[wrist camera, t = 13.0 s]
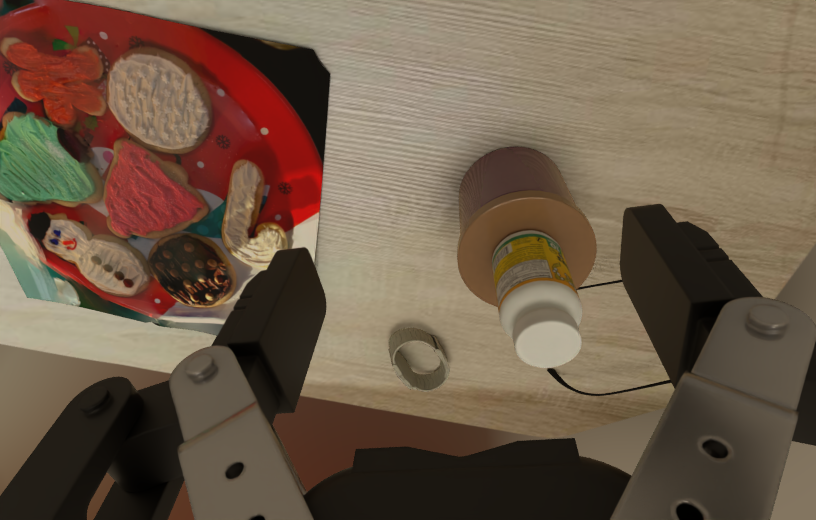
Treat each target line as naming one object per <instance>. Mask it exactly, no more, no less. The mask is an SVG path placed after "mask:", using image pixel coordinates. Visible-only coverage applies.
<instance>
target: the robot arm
mask: <svg viewBox="0 0 816 520" xmlns="http://www.w3.org/2000/svg"><path fill="white" fill-rule="evenodd" d="M620 271H621V277H622V281H623V284H624V287H625V289H626V291H627V293H628V295H629V297H630V299H631V301H632V303H633V305H634V307H635V309H636V311H637V313H638V315H639V317H640V319H641V321H642V323H643V325H644V327H645V329H646V331H647V333H648V335H649V337H650V340H651V342H652V344H653V346H654V348H655V350H656V352H657V354H658V356H659V358H660V360H661V362H662V364H663V366H664V368H665V370H666V372H667V374H668V376H669V378H670V380H671V382H672V384H673V386H674V388H675V390H674V392H673V394H672V396H671V398H670V400H669V402H668V404H667V406H666V408H665V410H664V412H663V414H662V416H661V419H660V421H659V423H658V425H657V427H656V429H655V431H654V432H653V435H652V436H651V438H650V440H649V442H648V444H647V446H646V449H645V450H644V452H643V455H642V457H641V458H640V460H639V462H638V464H637V466H636V468H635V470H634V472H633V474H632V476H631V475H629V474H628V473H626V472H624V471H622V470H620V469H618V468H616V467H613V466H611V465H609V464H606V463H604V462H601V461H598V460H594V459H591V458H586V457H581V456H579V453H578V449H577V445H576V441H575V438H567V439H548V440H529V441H516V442H513V443H509V444H506V445H502V446H499V447H496V448H493V449H489V450H485V451H482V452H479V453H475V454H472V455H468V456H464V457H457V456H451V455H447V454H442V453H437V452H431V451H426V450H421V449H416V448H411V447H389V448H369V449H356V451H355V457H354V462H353V467H350V468H347V469H345V470H342V471H340V472H338V473H336V474H333V475H332V476H330V477H328V478H326V479H324V480H323V481H321V482H320V483H319V484H317V485H316V486H314V487H313V488H312V489H311V490H309V491H308V492H307V491H306V489H305V487H304V485H303V484H302V482H301V480H300V478H299V476H298V474H297V472H296V470H295V468H294V466H293V464H292V462H291V460H290V458H289V456H288V454H287V452H286V450H285V448H284V446H283V444H282V442H281V440H280V438H279V436H278V434H277V432H276V430H275V428H274V426H273V425H272V424H273V421H274V418H275V415H276V414H279V413H293V412H295V408H296V405H297V402H298V399H299V396H300V393H301V390H302V387H303V383H304V380H305V377H306V374H307V371H308V368H309V365H310V361H311V358H312V355H313V352H314V349H315V346H316V343H317V340H318V336H319V333H320V330H321V327H322V324H323V321H324V318H325V314H326V298H325V293H324V290H323V287H322V285H321V282H320V279H319V276H318V273H317V271H316V268H315V265H314V262H313V260H312V257H311V254H310V252H309V250H308V249H307V248H305V247H301V248H293V249H285V250H278V251H277V252H276V253H275V254H274V256H273V258H272V260H271V262H270V264H269V266H268V268H267V269H266V270H262V271H260V272H259V273H258V274H257V275H256V276H255V277H253V278H252V279H251V280H250V281H249V282H248V283H247V284H246V286H245V288H244V289H243V291H242V293H241V295H240V299H238V300H237V302H236V304H235V305H234V307H233V310H232V311H231V312H230V314H229V316H228V318H227V319H226V321H225V323H224V325H223V326H222V328H221V330H220V332H219V333H218V335H217V337H216V339H215V340H214V342H213V344H212V346H210V347H206V348H203V349H200V350H198V351H196V352H194V353H192V354H191V355H189V356H188V357H186V358H185V359H184V360H182V361H181V362H180V363H179V364H178V365H177V366H176V368H175V369H174V370H173V372H172V374H171V376H170V378H169V380H168V381H166V382H162V383H159V384H156V385H153V386H150V387H147V388H144V389H141V390H138V391H137V390H136V389H135V388H134V386H133V385H132V384H131V382H130V381H129V380H128V379H127V378H124V377H112V378H107V379H104V380H102V381H99V382H97V383H95V384H93V385H91V386H89V387H88V388H86V389H85V390H83V391H82V392H81V393H79V394H78V395H77V396H76V397H75V398H74V399H73V400H72V401H71V402H70V403H69V404H68V405H67V407H66V408H65V409H64V411H63V412H62V413H61V415H60V416H59V417H58V419H57V420H56V421H55V423H54V424H53V425H52V427H51V428H50V429H49V431H48V432H47V433H46V435H45V436H44V438H43V439H42V440H41V442H40V443H39V444H38V446H37V447H36V448H35V450H34V451H33V453H32V454H31V455H30V456H29V458H28V459H27V461H26V462H25V463H24V465H23V466H22V467H21V469H20V470H19V471H18V473H17V474H16V475H15V477H14V478H13V480H12V481H11V482H10V484H9V485H8V486H7V488H6V489H5V490H4V492H3V493H2V494H1V496H0V520H87V509H88V505H89V503H90V501H91V499H92V497H93V495H94V494H95V492H96V490H97V488H98V487H99V485H100V483H101V481H102V480H103V478H104V476H105V474H106V473H109V475H110V476H111V477H112V478H113V479H114V480H115V482H114V484H113V485H112V487H111V489H110V491H109V493H108V495H107V496H106V498H105V500H104V502H103V504H102V505H101V507H100V509H99V511H98V513H97V515H96V516H95V518H94V520H168V517H169V515H170V512H171V510H172V508H173V506H174V503H175V501H176V498H177V496H178V494H179V491H180V489H181V487H182V484H183V482H184V480H185V484H186V488H187V492H188V495H189V500H190V503H191V507H192V511H193V515H194V519H195V520H770V518H771V514H772V511H773V507H774V504H775V500H776V496H777V493H778V489H779V485H780V482H781V478H782V474H783V471H784V467H785V463H786V459H787V456H788V452H789V448H790V445H791V441H795V442H800V443H805V444H810V445H815V446H816V325H815V323H814V322H813V320H812V319H811V318H810V317H809V316H808V315H807V314H805V313H804V312H803V311H801V310H800V309H798V308H796V307H794V306H792V305H789V304H787V303H785V302H782V301H779V300H775V299H770V298H764V297H763V296H762V295H761V294H760V293H759V292H758V291H757V289H756V288H755V287H754V286H753V285H752V284H751V282H750V281H749V280H748V279H747V278H746V277H745V275H744V274H743V273H742V272H741V271H740V270H739V268H738V267H737V266H736V265H735V264H734V263H733V261H732V260H729V257H728V256H727V254H726V253H725V252H724V251H723V250H722V249H721V248H720V249H719V245H718V244H717V243H716V242H715V240H714V239H713V238H712V237H711V236H710V235H709V233H708V232H706V231H704V230H702V229H701V228H699V227H697V226H695V225H693V224H691V223H689V222H688V221H687V222H679V223H676V221H675V220H674V219H673V218H672V216H671V215H670V214H669V212H668V211H667V210H666V209H665V207H664V206H663V205H662V204H654V205H646V206H638V207H630V208H626V209H625V212H624V216H623V228H622V241H621V254H620Z"/></svg>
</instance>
